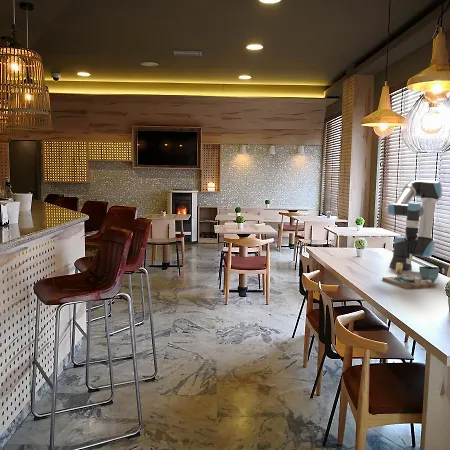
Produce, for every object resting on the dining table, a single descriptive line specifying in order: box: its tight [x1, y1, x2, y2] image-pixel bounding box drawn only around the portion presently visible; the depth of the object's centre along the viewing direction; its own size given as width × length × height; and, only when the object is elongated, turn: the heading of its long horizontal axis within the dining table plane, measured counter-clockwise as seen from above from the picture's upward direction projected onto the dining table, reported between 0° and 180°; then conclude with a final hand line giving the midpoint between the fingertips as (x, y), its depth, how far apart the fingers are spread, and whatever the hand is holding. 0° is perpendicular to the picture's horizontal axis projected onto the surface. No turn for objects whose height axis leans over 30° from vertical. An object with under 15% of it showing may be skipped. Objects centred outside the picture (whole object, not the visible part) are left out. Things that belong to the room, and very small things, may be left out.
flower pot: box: [418, 265, 440, 283], centre depth 305 cm, size 9×9×9 cm
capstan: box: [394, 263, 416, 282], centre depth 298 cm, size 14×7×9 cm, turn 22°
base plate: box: [381, 276, 437, 290], centre depth 295 cm, size 22×22×4 cm
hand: (408, 263), depth 305 cm, fingers closed
